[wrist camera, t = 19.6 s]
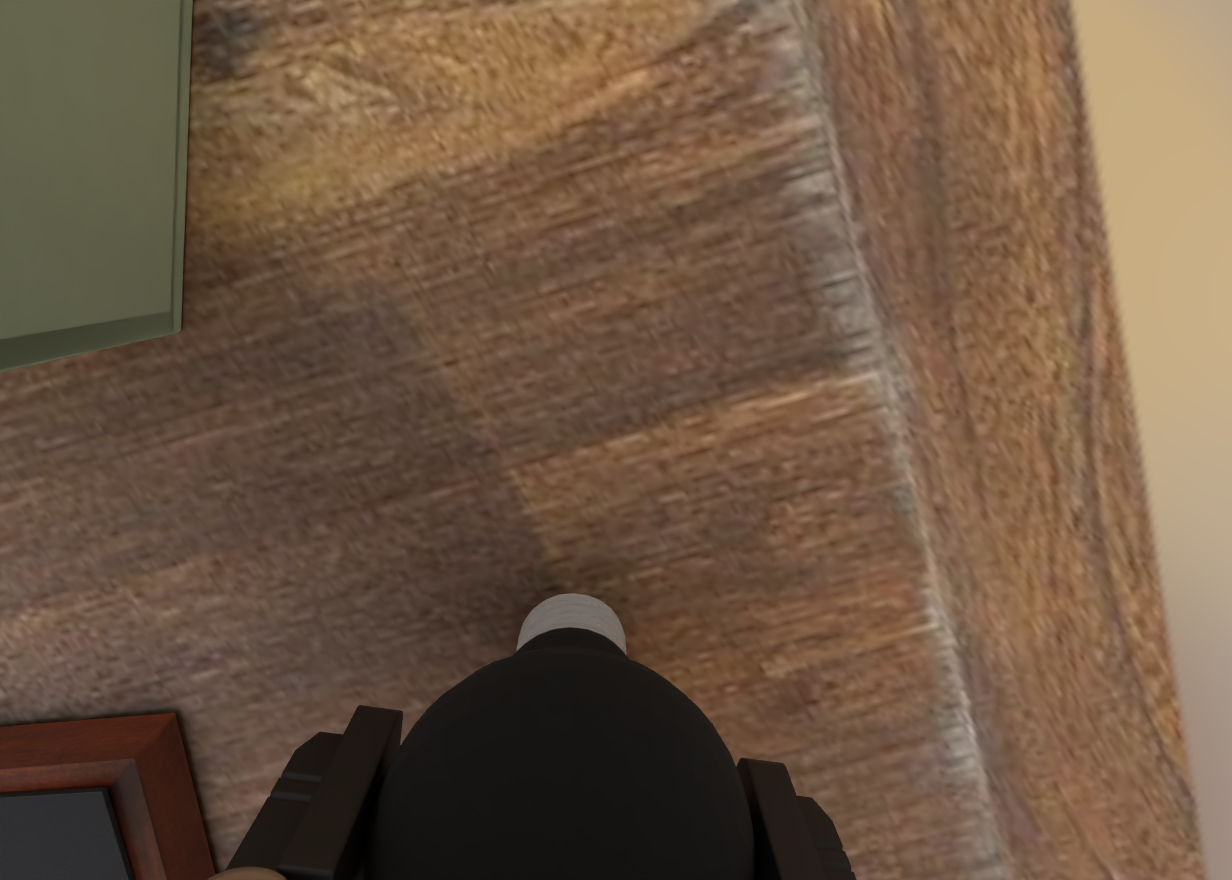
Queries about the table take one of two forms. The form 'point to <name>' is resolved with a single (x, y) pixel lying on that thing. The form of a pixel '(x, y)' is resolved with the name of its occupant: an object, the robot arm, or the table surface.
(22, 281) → the box
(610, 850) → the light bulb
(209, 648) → the table surface
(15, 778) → the picture frame
